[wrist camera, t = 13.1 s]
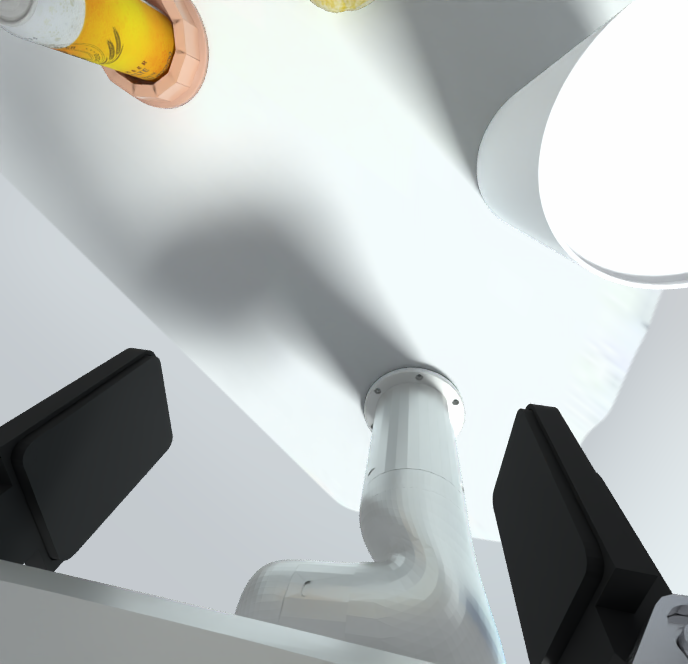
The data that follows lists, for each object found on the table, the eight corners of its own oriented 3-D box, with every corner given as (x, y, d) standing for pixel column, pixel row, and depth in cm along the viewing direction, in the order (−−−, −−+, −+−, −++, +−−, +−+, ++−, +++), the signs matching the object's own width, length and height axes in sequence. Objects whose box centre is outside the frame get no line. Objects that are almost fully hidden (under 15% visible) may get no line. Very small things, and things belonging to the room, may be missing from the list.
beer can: (124, 73, 37) (-42, 17, 24) (126, -2, 35) (-59, -112, 21) (179, 91, 37) (44, 45, 24) (186, 17, 35) (37, -82, 21)
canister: (608, 236, 36) (800, 299, 18) (466, 228, 38) (512, 279, 20) (659, 71, 31) (1003, -72, 13) (490, 72, 33) (583, -49, 15)
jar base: (213, 110, 38) (196, 105, 35) (120, 106, 40) (97, 101, 37) (203, -24, 34) (183, -42, 31) (99, -23, 35) (71, -40, 32)
